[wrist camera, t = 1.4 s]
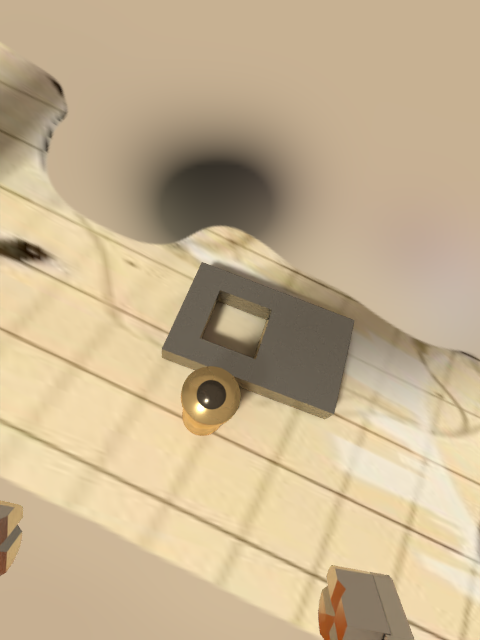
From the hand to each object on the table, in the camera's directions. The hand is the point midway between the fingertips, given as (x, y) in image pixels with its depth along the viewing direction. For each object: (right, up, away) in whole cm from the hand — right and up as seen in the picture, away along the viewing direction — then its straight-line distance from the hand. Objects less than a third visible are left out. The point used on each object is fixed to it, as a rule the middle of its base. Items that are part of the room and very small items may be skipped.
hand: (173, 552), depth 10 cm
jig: (+4, +4, +33) cm, 34 cm away
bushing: (-2, -3, +29) cm, 29 cm away
